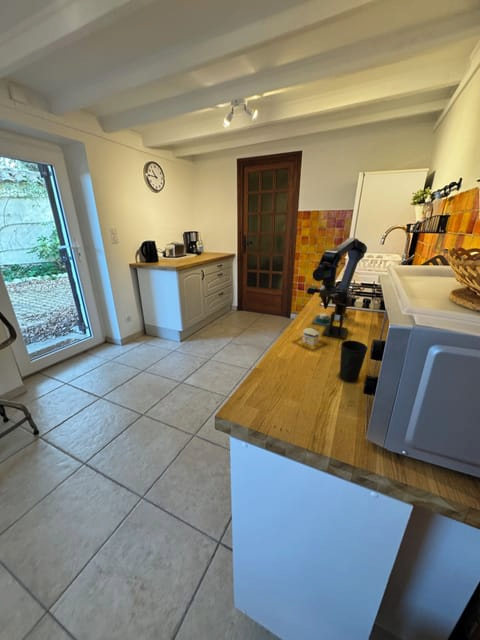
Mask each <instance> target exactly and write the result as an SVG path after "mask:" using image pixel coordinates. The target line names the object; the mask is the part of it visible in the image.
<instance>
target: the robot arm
mask: <svg viewBox="0 0 480 640" xmlns="http://www.w3.org/2000/svg"><path fill="white" fill-rule="evenodd" d="M367 251H368V247H367V245H366V244H365V243H364V242H362V241H360V240H359V239H358V238H356V237H348V238H346V239H345V240H344V241H343V242H342V243H340V244H339V245H337V246H336V247H334V248H329V249H327V250H325V251H324V253H323V254H322V256H321V258H320V260H319V262H318V265H317V266H316V268H315V269H314V270H313V272H312V278H313V280H314V281H316V282H321V281H322V283H321V285H320V287H318V286H315V285H314V286H313V285H310V286H309V287H308V288H307V290H306V294H307V295H314V294H318V298H321V301H322V303H323V304H322V305H323V309H324V310H326V309H327V308H328V306H329V304H330V303H331V304H332V305H334V312H335V315H342V313H344V317H345V318H346V317H347V313H346V312H347V308H350V307H351V305H352V299H351V297H350V296H351V292H350V291H351V290H350V286H351V284H352V280H353V278H354V274H355V272H356V269H357V266H358V263H359V262H360V261H362V259H364V257H365V254H366V253H367ZM346 254H347V257H348V259H347V263H346V266H345V269H344V272H343V274H342V278H341V280H340V283H339V285H338V286H336V280H337V279H336V278H337V271H338V269H339V267H340V266H339V264H340V262H341V261H342V260H343V256H344V255H346Z"/></svg>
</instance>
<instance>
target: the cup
mask: <svg viewBox="0 0 480 640" xmlns="http://www.w3.org/2000/svg"><path fill="white" fill-rule="evenodd" d="M367 351H368V346H367V345H366V343H365V344H364V343H363V342H360V341H358V340H343V341H342V342H341V344H340V364H339V365H340V366H339V377H340V379H341V380H343V382H346V383H356V382H357V381H358V380H359V377H360V374H361V370H362V367H363V365H364V361H365V358H366V354H367Z"/></svg>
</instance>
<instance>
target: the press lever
mask: <svg viewBox="0 0 480 640" xmlns="http://www.w3.org/2000/svg"><path fill="white" fill-rule="evenodd" d="M340 318H341V315H335V317H334V321H337V322H339V323H340Z"/></svg>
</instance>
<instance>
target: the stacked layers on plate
mask: <svg viewBox="0 0 480 640" xmlns="http://www.w3.org/2000/svg"><path fill="white" fill-rule="evenodd" d="M302 332H303V333H302V338H301V339H302V343H303V344H306V345H309V346H311V347H314V346H317V345H318V343H319V342H320V339H319V338H320V337H321V336H320V335H319V334H320V331H318V330H316V329H314V328H311V327H305V328H304V329H303V330H302Z"/></svg>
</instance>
